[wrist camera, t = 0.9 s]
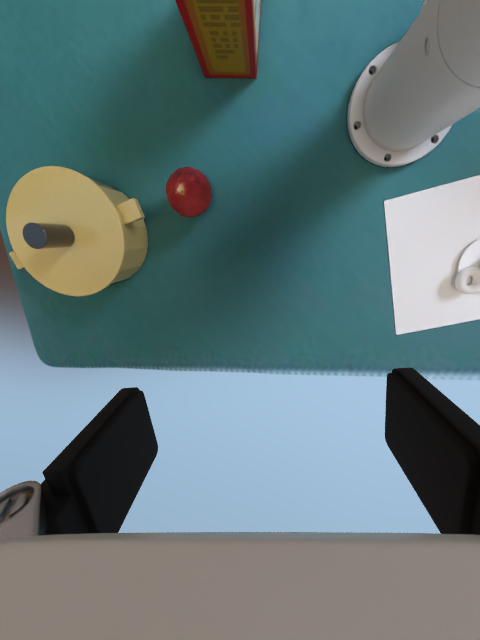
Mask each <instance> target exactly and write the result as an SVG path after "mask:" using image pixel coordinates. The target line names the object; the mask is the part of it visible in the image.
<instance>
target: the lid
mask: <svg viewBox="0 0 480 640" xmlns="http://www.w3.org/2000/svg"><path fill="white" fill-rule="evenodd" d="M6 225H7V231H8V236H9V239H10V242H11V245H12V247H13V250H14V252H15V254H16V256H17V257H18V259H19V260H20V262H21V264H22V265H23V266H24V267H25V269H26V270H27V271H28V272H29V273H30V274H31V275H32V276H33V277H34V278H35V279H36V280H37V281H39V282H40V283H41V284H43V285H44V286H46V287H48V288H49V289H51V290H53V291H56V292H58V293H61V294H65V295H70V296H86V295H91V294H94V293H97V292H99V291H101V290H103V289H105V288H106V287H108V286H109V285H110V284H111V283H112V282H113V281H114V280H115V279H116V277H117V276H118V274H119V272H120V271H121V269H122V266H123V263H124V259H125V255H126V236H125V230H124V226H123V222H122V219H121V217H120V214H119V212H118V210H117V208H116V206H115V205H114V203H113V202H112V200H111V199H110V197H109V196H108V195H107V194H106V192H105V191H104V190H103V189H102V188H101V187H100V186H99V185H98V184H97V183H95V182H94V181H93V180H91V179H90V178H88V177H87V176H85V175H83V174H82V173H79V172H77V171H74V170H72V169H68V168H64V167H58V166H46V167H41V168H37V169H35V170H32V171H30V172H29V173H27V174H26V175H24V176H23V177H22V178H21V179H20V180H19V181H18V182H17V184H16V185H15V186H14V188H13V190H12V192H11V194H10V197H9V199H8V204H7V209H6Z"/></svg>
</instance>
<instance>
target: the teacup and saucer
mask: <svg viewBox="0 0 480 640" xmlns="http://www.w3.org/2000/svg"><path fill="white" fill-rule="evenodd" d="M479 260H480V237H479V238H478V239H476V240H474V241H473V242H472V243H471V244H470V245H469V246H468V247H467V248H466V249H465V250H464V251H463V253H462V254H461V256H460V258H459V260H458V264H457V275H456V277H455V279H454V286H455V288H456V289H457V290H458V291H459V292H460V293H462V294H464V295H471V294H474V293H480V268H479V267H478V264H479V263H478V262H479Z"/></svg>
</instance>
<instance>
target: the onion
mask: <svg viewBox="0 0 480 640" xmlns="http://www.w3.org/2000/svg"><path fill="white" fill-rule="evenodd" d="M166 194H167V198H168V201H169V203H170V205H171V207H172V208H173V209H174V210H175V211H176V212H178V213H179V214H180V215H182V216H186V217H194V216H199V215H200V214H202V213H203V212H205V211H206V209H207V208H208V207H209V205H210V202H211V197H212V193H211V186H210V184H209V182H208V180H207V178H206V176H205V175H203V174H202V173H201V172H200V171H199V170H196V169H194V168H191V167H184V168H178V169H177V170H176V171H175V172H174V173H173V174H171V176H170V178H169V180H168V182H167V186H166Z"/></svg>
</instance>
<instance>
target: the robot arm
mask: <svg viewBox="0 0 480 640" xmlns="http://www.w3.org/2000/svg"><path fill="white" fill-rule="evenodd" d="M369 73H371V74H372V75H370V74H369ZM479 108H480V0H425V1H424V2H423V5H422V8H421V12H420V13H419V15H418V16H417V17H416V19H415V20H414V22H413V23H412V25H411V26H410V28H409V29H408V30H407V32H406V33H405V35H404V36H403V38H402V39H401V41H400V42H398V43H395V44H393V45H391V46H389V47H388V48H386V49H385V50H383V51H382V52H381V53H379V54H378V55H377V56H376V57H375V58H374V59H373V60H372V61H371V62H370V63H369V64H368V66H367V67H366V69H365V70H364V71H363V73H362V74H361V76H360V78H359V79H358V81H357V83H356V85H355V87H354V90H353V92H352V94H351V98H350V102H349V105H348V115H347V122H348V131H349V135H350V139H351V141H352V143H353V145H354V147H355V148H356V150H357V151H358V152H359V154H360V155H361V156H362V157H364V158H365V159H366V160H367V161H369V162H371V163H373V164H375V165H379V166H383V167H397V166H403V165H406V164H409V163H411V162H414V161H416V160H418V159H420V158H422V157H423V156H425V155H426V154H427V153H429V152H430V151H432V150H433V149H434V148H435V147H436V146H437V145H438V144H439V143H440V142H441V141H442V139H443V138H444V137H445V136H446V134H447V133H448V132H449V130H450V128H451V126H452V124H454V123H455V122H457V121H459V120H460V119H462V118H464V117H465V116H467V115H469V114H470V113H472V112H474V111H475V110H477V109H479ZM354 126H356V127H357V130H355V129H354ZM431 140H432V142H431ZM384 158H386V161H385V160H384ZM385 420H386V421H385V439H386V442H387V445H388V447H389V448H390V450H391V451H392V453H393V455H394V457H395V458H396V460H397V461H398V463H399V465H400V466H401V468H402V470H403V471H404V473H405V475H406V476H407V478H408V480H409V481H410V483H411V485H412V486H413V488H414V490H415V491H416V493H417V495H418V496H419V498H420V500H421V501H422V503H423V505H424V506H425V508H426V509H427V511H428V513H429V514H430V516H431V518H432V519H433V521H434V523H435V524H436V526H437V528H438V529H439V531H440V533H441V534H426V533H315V532H308V533H307V532H301V533H300V532H283V533H282V532H276V533H275V532H273V533H272V532H262V533H261V532H239V533H238V532H235V533H234V532H223V533H222V532H217V533H216V532H213V533H212V532H211V533H210V532H205V533H118V532H119V530H120V528H121V525H122V524H123V521H124V519H125V517H126V515H127V513H128V511H129V509H130V507H131V505H132V503H133V501H134V499H135V497H136V495H137V493H138V491H139V489H140V487H141V485H142V483H143V481H144V479H145V477H146V475H147V473H148V471H149V469H150V467H151V465H152V463H153V461H154V459H155V457H156V455H157V451H158V444H157V441H156V437H155V433H154V429H153V426H152V422H151V419H150V415H149V411H148V407H147V404H146V400H145V397H144V393H143V392H142V391H140V390H139V389H138V388H124V389H121V390H120V391H119V392H118V393H117V394H116V395H115V396H114V398H113V399H112V400H111V401H110V402H109V403H108V404H107V405H106V406H105V407H104V408H103V409H102V410H101V411H100V412H99V413H98V414H97V416H95V417H94V418H93V420H92V421H91V422H90V423H89V424H88V425H87V426H86V427H85V428H84V429H83V430H82V431H81V432H80V433H79V434H78V435H77V436H76V437H75V439H74V440H73V441H72V442H71V443H70V444H69V445H68V446H67V447H66V448H65V449H64V450H63V451H62V453H60V455H58V456H57V458H56V459H55V460H54V461H53V462H52V463H51V464H50V465H49V466H48V467H47V468H46V469H45V470H44V471H43V475H44V477H45V480H44V481H43V483H42V484H41V485H40V484H39V483H38V482H37V481H27V482H22V483H19V484H17V485H14V486H12V487H10V488H8V489H6V490H5V491H3V492H1V493H0V640H480V425H478V424H477V423H476V422H475V421H474V420H473V419H471V418H470V417H469V416H468V415H467V414H465V412H463V411H462V410H461V409H460V408H459V407H458V406H456V405H455V404H454V403H453V402H452V401H451V400H449V399H448V398H447V397H446V396H445V395H444V394H442V393H441V392H440V391H439V390H438V389H437V388H435V387H434V386H433V385H432V384H431V383H430V382H428V381H427V380H426V379H425V378H424V377H423V376H421V375H420V374H419V373H418V372H417V371H416V370H414V369H413V368H398V369H393V370H392V373H388V375H387V390H386V419H385Z"/></svg>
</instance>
